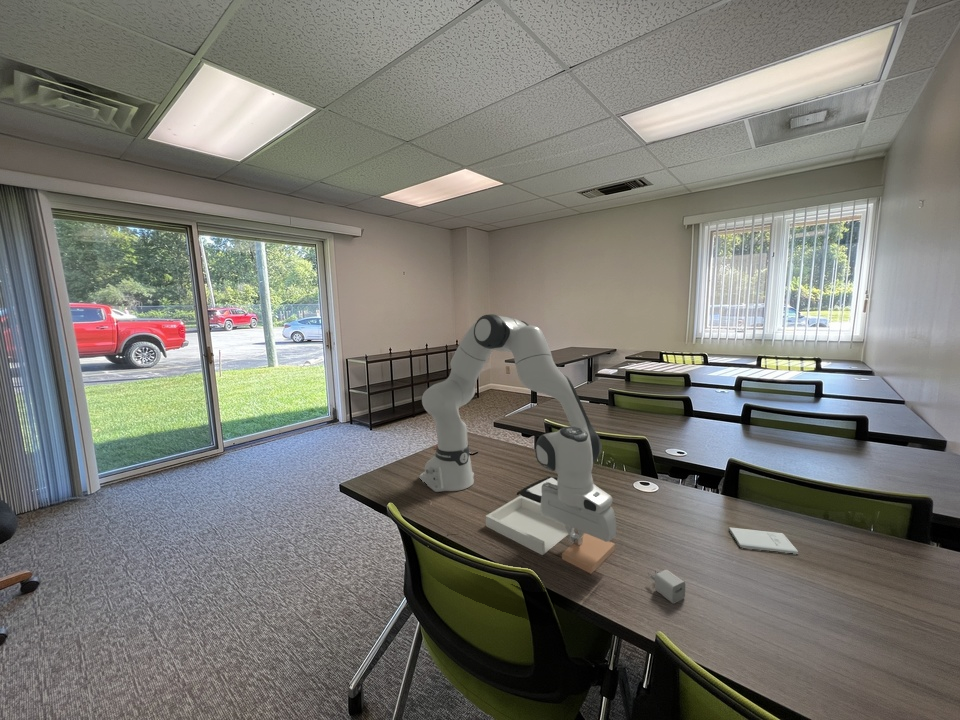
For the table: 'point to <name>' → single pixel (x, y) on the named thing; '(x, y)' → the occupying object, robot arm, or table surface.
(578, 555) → the light orange flat block
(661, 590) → the usb wall charger
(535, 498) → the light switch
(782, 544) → the external hard drive
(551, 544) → the open box
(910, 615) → the table surface
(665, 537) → the table surface
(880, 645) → the table surface
